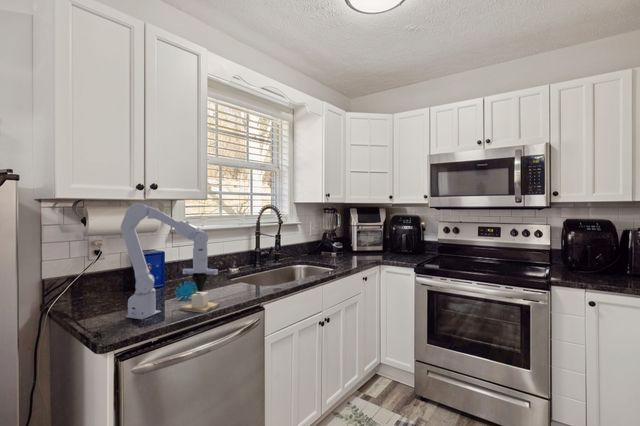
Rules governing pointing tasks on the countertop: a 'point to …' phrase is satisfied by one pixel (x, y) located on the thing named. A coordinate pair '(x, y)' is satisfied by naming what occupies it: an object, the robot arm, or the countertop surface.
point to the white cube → (200, 299)
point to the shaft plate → (200, 309)
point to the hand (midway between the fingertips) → (200, 291)
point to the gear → (186, 290)
